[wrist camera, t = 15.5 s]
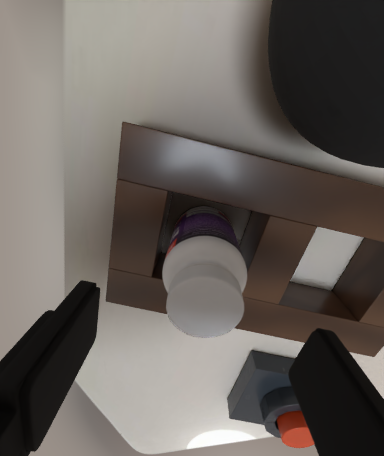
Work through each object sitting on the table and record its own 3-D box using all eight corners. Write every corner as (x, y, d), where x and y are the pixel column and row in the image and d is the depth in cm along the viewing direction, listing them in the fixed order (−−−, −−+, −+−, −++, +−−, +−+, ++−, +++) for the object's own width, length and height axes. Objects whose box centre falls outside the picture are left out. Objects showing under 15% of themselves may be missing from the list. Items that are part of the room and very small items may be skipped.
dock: (346, 322, 23) (374, 357, 19) (121, 274, 22) (105, 301, 18) (432, 200, 18) (493, 215, 14) (139, 126, 16) (121, 121, 13)
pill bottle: (170, 207, 19) (142, 268, 10) (231, 202, 18) (260, 259, 9) (178, 260, 21) (161, 350, 12) (233, 255, 20) (258, 346, 11)
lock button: (271, 424, 25) (275, 444, 23) (284, 405, 23) (290, 425, 22) (303, 430, 25) (310, 450, 23) (318, 411, 23) (327, 431, 22)
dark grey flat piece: (227, 399, 29) (231, 436, 25) (251, 350, 25) (260, 386, 21) (309, 414, 29) (324, 453, 26) (345, 369, 26) (369, 407, 22)
